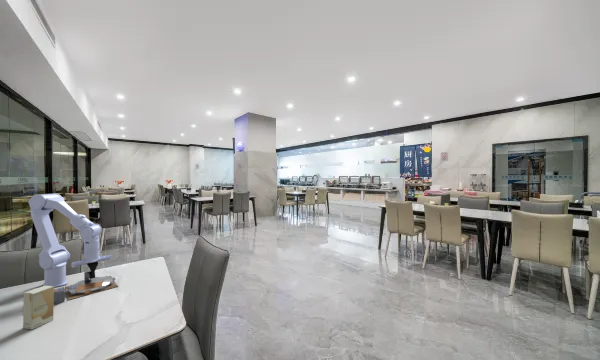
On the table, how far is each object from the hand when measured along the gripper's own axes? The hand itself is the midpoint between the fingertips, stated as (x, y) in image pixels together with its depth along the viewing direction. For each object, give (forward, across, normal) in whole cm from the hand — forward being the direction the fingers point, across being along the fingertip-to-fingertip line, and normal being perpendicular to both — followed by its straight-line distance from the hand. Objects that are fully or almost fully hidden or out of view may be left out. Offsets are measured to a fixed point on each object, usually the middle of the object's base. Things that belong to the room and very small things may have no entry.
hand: (92, 277), depth 116 cm
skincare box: (+3, -18, -29) cm, 34 cm away
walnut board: (+3, -1, -5) cm, 6 cm away
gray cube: (+3, -14, -12) cm, 18 cm away
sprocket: (+3, -1, -5) cm, 6 cm away
